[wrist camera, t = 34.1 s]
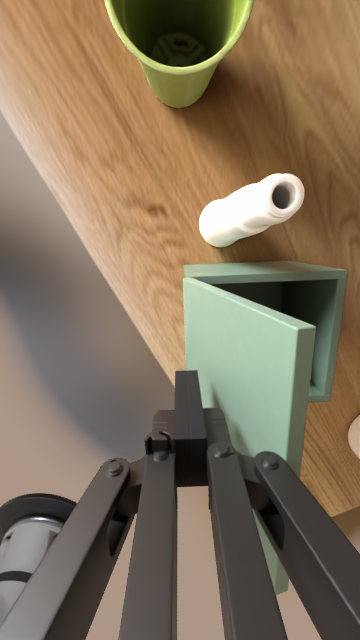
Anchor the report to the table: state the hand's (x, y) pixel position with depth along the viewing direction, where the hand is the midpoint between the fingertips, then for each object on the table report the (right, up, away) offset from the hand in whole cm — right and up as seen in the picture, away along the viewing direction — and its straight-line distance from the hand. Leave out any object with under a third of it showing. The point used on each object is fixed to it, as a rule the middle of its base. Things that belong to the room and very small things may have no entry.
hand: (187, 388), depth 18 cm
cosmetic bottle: (+5, +18, +17) cm, 25 cm away
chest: (+8, +6, +21) cm, 23 cm away
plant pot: (-1, +34, +13) cm, 36 cm away
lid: (+3, 0, 0) cm, 3 cm away
